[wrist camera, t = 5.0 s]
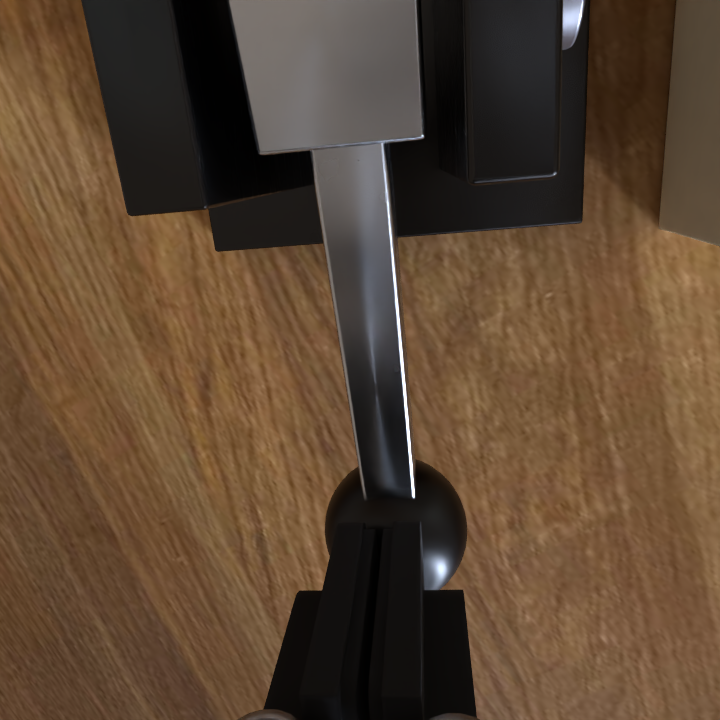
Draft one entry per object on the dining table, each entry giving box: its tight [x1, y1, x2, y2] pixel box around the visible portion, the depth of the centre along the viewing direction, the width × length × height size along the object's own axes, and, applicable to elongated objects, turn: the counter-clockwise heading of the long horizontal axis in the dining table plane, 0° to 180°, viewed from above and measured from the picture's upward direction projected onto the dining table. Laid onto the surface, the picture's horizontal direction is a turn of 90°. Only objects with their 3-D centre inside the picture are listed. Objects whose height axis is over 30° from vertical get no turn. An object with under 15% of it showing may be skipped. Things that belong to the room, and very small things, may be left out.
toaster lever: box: [225, 0, 467, 590], centre depth 10 cm, size 13×3×3 cm, turn 5°
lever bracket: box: [81, 0, 590, 252], centre depth 11 cm, size 8×11×12 cm
